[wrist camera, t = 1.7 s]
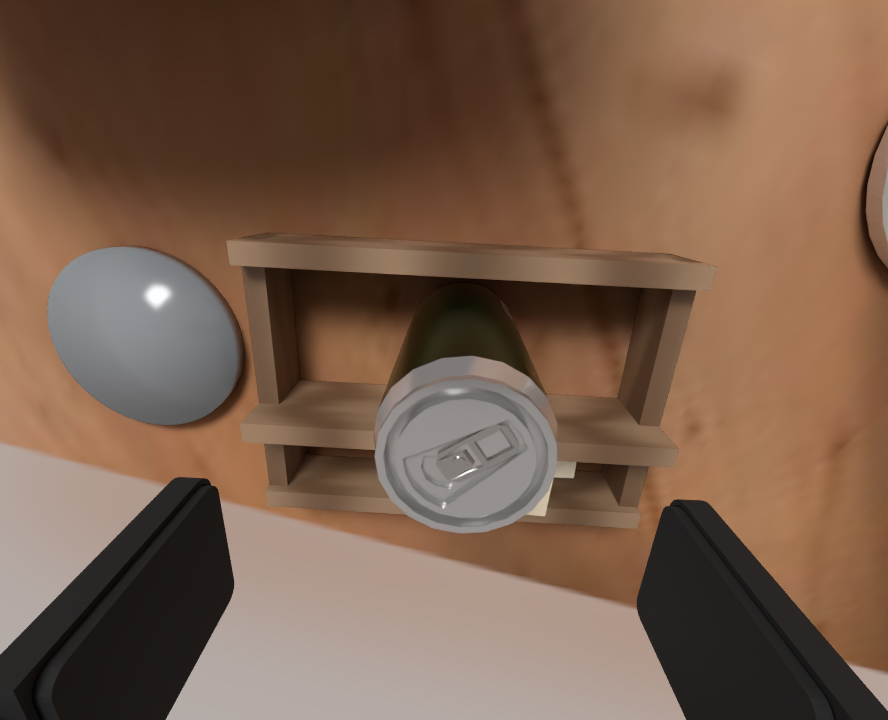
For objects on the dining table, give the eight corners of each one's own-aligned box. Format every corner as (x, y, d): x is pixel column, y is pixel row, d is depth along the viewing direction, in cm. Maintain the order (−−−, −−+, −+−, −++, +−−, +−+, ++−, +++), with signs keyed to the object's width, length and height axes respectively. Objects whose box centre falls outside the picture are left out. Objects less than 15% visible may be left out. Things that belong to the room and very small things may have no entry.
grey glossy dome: (230, 251, 21) (222, 253, 21) (253, 423, 25) (247, 430, 24) (36, 240, 21) (21, 242, 21) (88, 413, 25) (76, 419, 24)
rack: (670, 253, 21) (732, 270, 16) (614, 486, 26) (649, 550, 21) (267, 232, 21) (213, 243, 16) (291, 467, 26) (255, 526, 21)
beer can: (479, 259, 21) (503, 330, 10) (530, 345, 23) (600, 490, 11) (392, 314, 22) (325, 433, 11) (446, 392, 24) (436, 565, 13)
